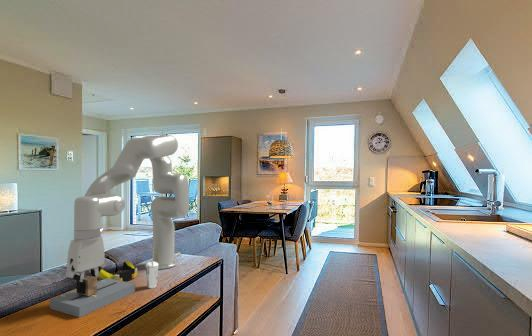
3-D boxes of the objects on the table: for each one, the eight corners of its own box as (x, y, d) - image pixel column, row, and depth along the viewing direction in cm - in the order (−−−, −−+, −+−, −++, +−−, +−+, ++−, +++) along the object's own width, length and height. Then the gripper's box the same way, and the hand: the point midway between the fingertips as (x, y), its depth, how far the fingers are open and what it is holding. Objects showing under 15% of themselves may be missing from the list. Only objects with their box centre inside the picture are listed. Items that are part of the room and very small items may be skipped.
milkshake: (145, 290, 105) (145, 262, 105) (145, 285, 110) (145, 258, 110) (158, 288, 107) (159, 261, 107) (158, 283, 112) (158, 257, 112)
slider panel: (107, 286, 109) (107, 277, 109) (134, 292, 104) (134, 283, 104) (49, 308, 91) (50, 298, 91) (79, 317, 85) (79, 306, 85)
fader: (85, 289, 97) (85, 274, 97) (97, 292, 95) (97, 276, 95) (76, 293, 94) (76, 277, 94) (87, 296, 92) (88, 280, 92)
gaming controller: (93, 284, 112) (110, 288, 107) (93, 269, 112) (110, 273, 107) (127, 272, 125) (143, 276, 121) (127, 259, 125) (143, 262, 121)
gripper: (102, 229, 104) (101, 280, 104) (53, 238, 89) (52, 298, 89) (117, 230, 101) (116, 284, 101) (69, 240, 86) (68, 303, 86)
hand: (86, 290), depth 95 cm, fingers closed on fader, 3 cm apart
